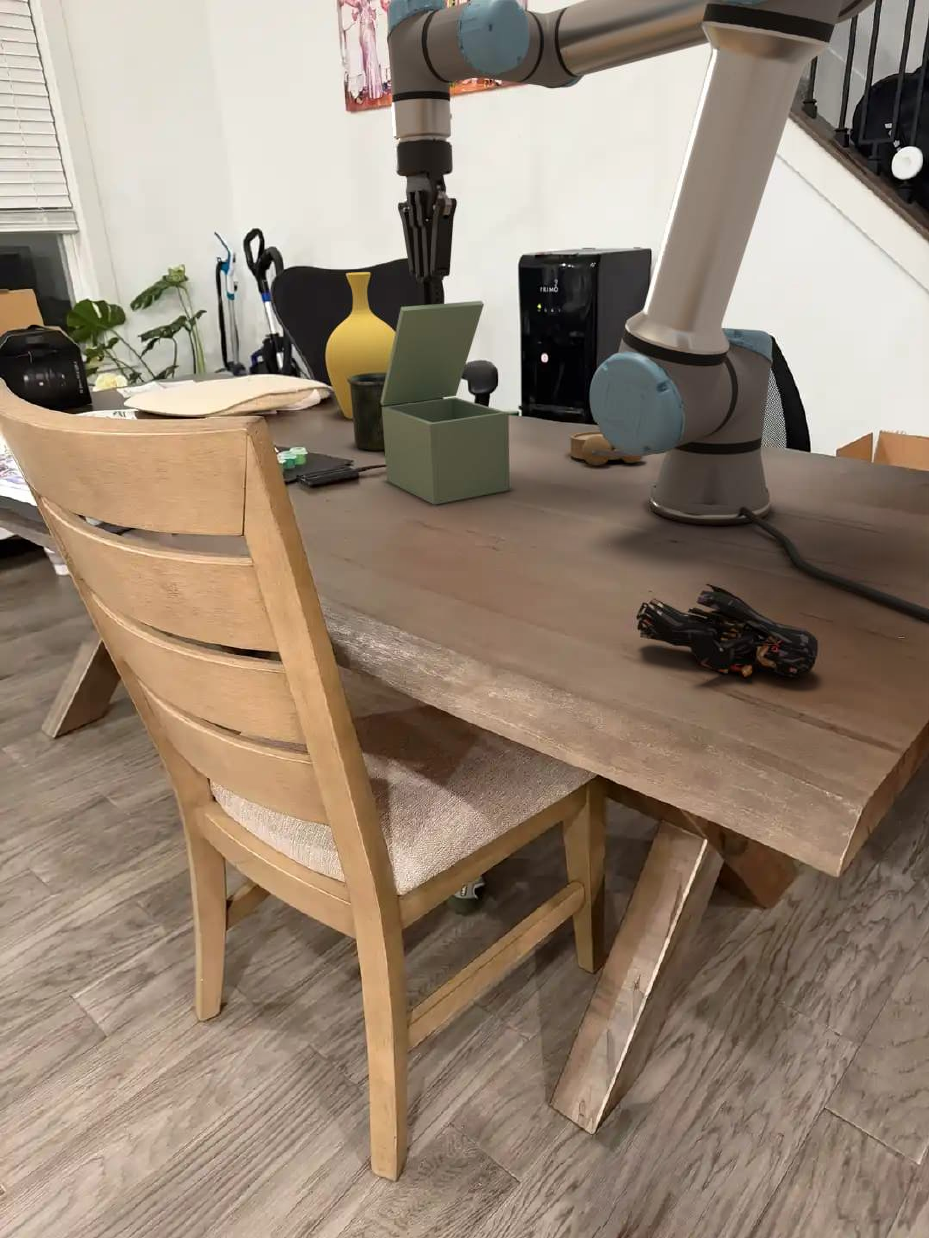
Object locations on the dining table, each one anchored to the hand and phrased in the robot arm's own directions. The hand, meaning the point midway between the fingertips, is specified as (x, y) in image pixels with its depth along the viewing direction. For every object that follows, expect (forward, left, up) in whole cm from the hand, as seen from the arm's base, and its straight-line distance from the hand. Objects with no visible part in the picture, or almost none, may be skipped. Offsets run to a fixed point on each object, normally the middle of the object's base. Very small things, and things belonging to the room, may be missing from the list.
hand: (432, 330), depth 120 cm
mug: (+27, -3, -22) cm, 35 cm away
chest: (-2, 0, -22) cm, 22 cm away
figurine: (-66, +8, -22) cm, 71 cm away
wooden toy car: (-4, -29, -22) cm, 37 cm away
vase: (+56, -13, -22) cm, 61 cm away
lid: (+1, 0, -4) cm, 4 cm away
